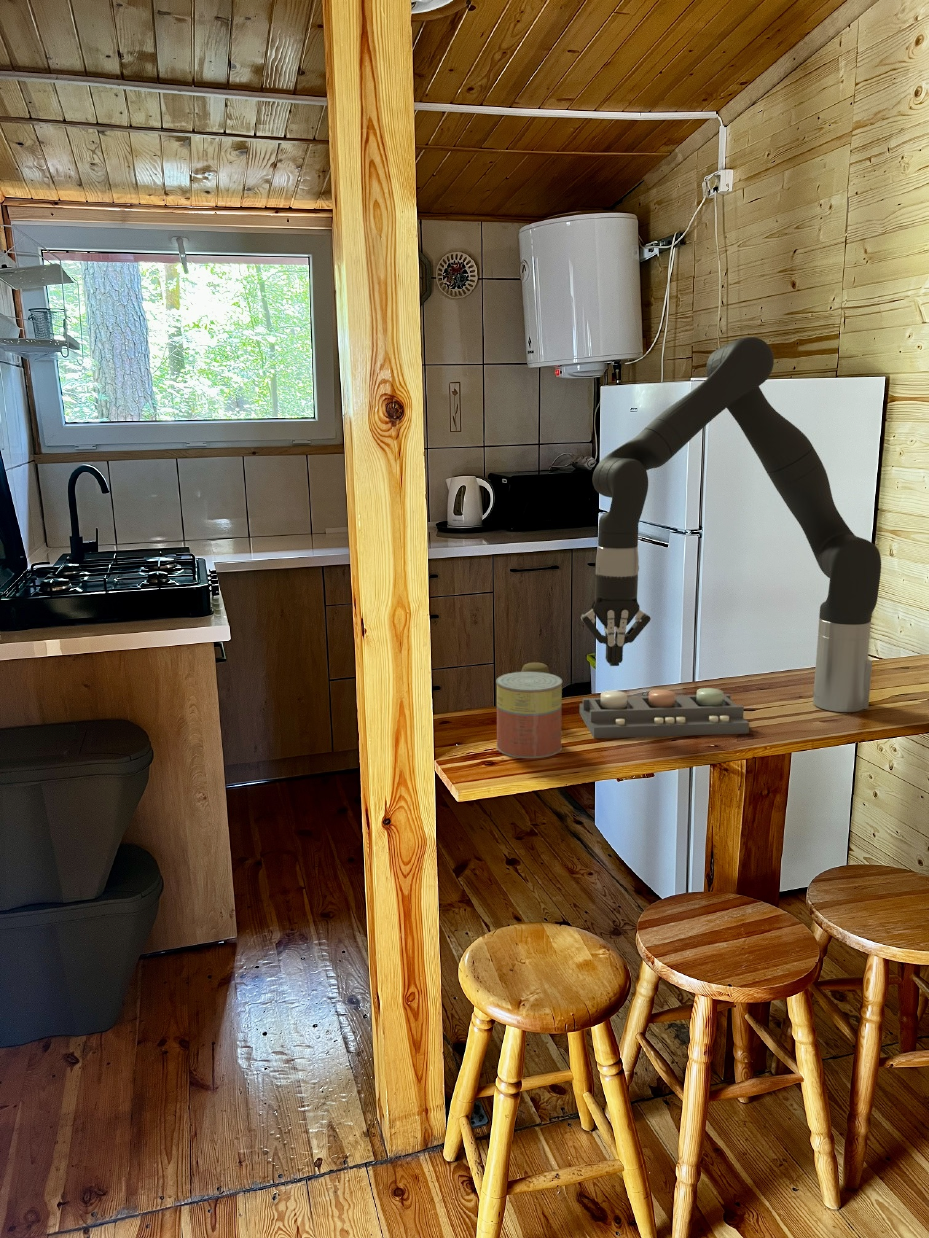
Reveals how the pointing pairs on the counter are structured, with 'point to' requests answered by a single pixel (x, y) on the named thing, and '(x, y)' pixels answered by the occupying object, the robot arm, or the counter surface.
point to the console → (663, 718)
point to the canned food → (529, 714)
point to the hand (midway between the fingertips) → (613, 664)
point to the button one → (613, 699)
